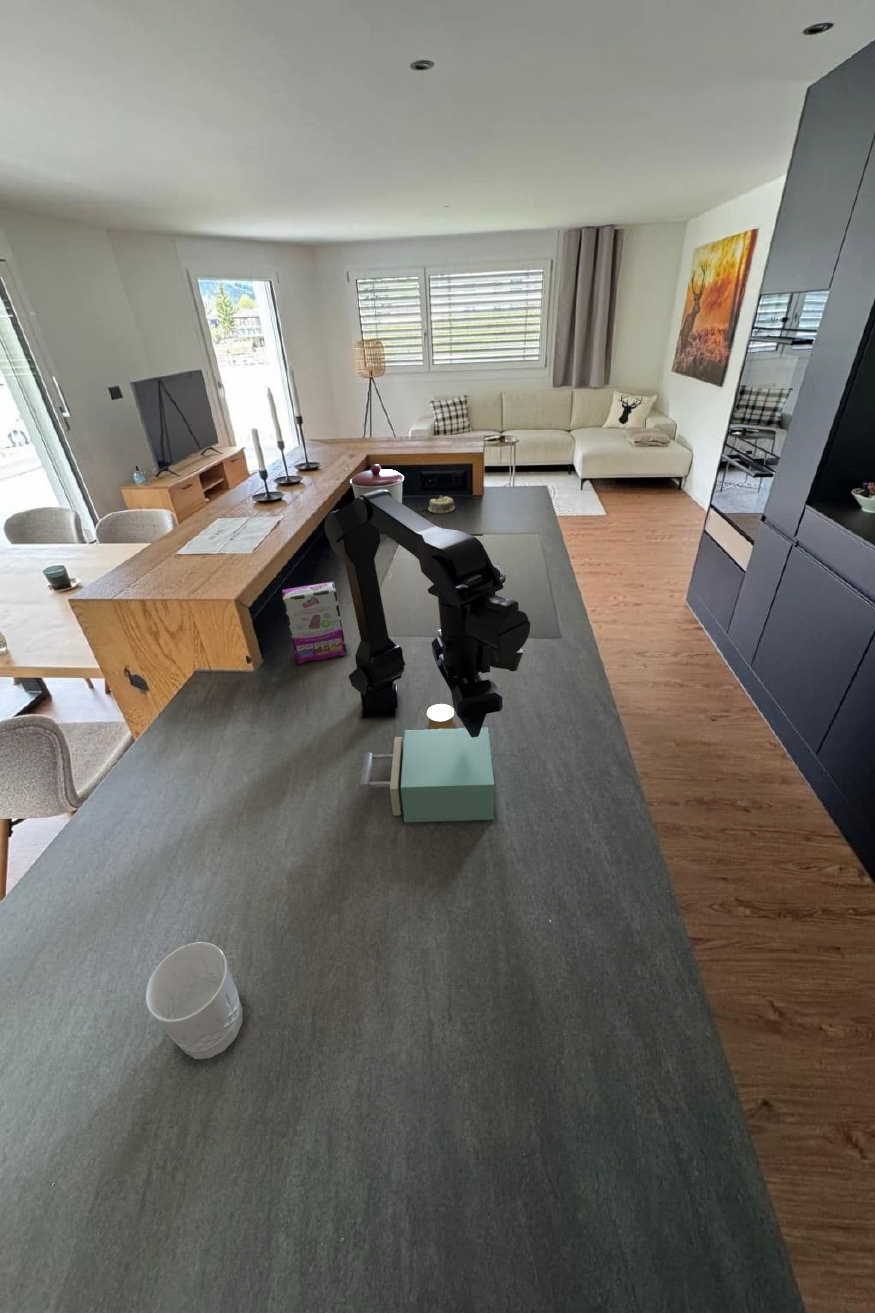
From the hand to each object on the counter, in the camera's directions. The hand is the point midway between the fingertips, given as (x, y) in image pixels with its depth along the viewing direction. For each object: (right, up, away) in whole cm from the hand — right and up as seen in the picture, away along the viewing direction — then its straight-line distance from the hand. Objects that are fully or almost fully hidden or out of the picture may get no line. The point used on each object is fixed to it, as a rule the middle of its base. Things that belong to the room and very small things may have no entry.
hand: (467, 718), depth 85 cm
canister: (-24, +55, +108) cm, 124 cm away
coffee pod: (-4, -4, +17) cm, 18 cm away
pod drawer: (-8, -12, +5) cm, 15 cm away
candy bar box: (-31, +10, +41) cm, 52 cm away
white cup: (-30, -32, -23) cm, 49 cm away
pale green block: (-3, -12, +5) cm, 13 cm away
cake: (-3, +64, +121) cm, 137 cm away
